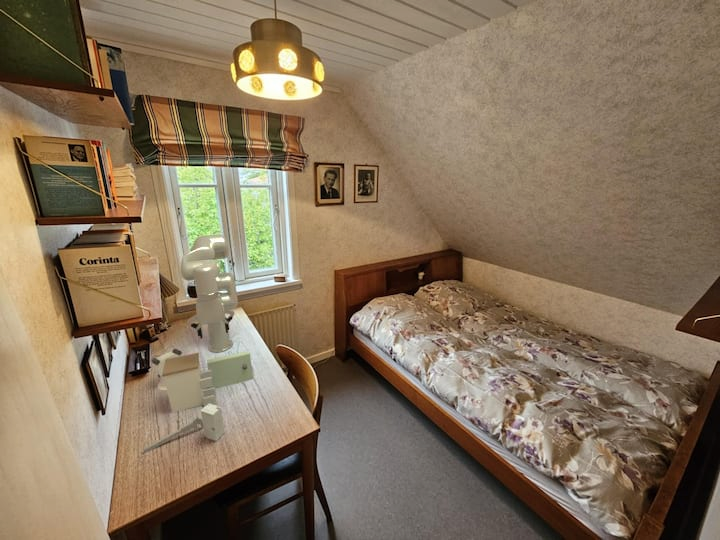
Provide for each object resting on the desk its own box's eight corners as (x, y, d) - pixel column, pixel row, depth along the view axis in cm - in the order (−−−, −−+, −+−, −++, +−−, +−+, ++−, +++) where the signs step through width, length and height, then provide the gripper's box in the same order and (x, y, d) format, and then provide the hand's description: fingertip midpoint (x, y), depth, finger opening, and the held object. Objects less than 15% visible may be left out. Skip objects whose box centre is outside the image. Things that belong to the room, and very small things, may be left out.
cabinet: (173, 396, 138) (165, 359, 132) (215, 386, 144) (209, 350, 138) (170, 416, 127) (161, 376, 121) (215, 403, 133) (209, 365, 128)
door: (211, 385, 145) (207, 359, 140) (252, 375, 152) (249, 350, 148) (211, 391, 141) (207, 364, 137) (253, 380, 148) (250, 355, 144)
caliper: (203, 427, 122) (201, 414, 120) (204, 428, 121) (201, 415, 119) (141, 452, 111) (137, 438, 109) (141, 454, 110) (137, 441, 108)
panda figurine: (178, 371, 155) (172, 345, 150) (191, 379, 149) (186, 352, 145) (152, 385, 145) (145, 357, 140) (166, 393, 139) (159, 365, 135)
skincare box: (204, 436, 117) (198, 410, 113) (213, 428, 121) (208, 402, 117) (216, 441, 115) (211, 415, 111) (225, 432, 119) (221, 406, 115)
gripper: (230, 289, 130) (235, 325, 135) (183, 296, 122) (190, 335, 128) (232, 295, 123) (237, 333, 129) (182, 303, 116) (190, 343, 121)
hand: (214, 334), depth 128 cm, fingers open, 9 cm apart
